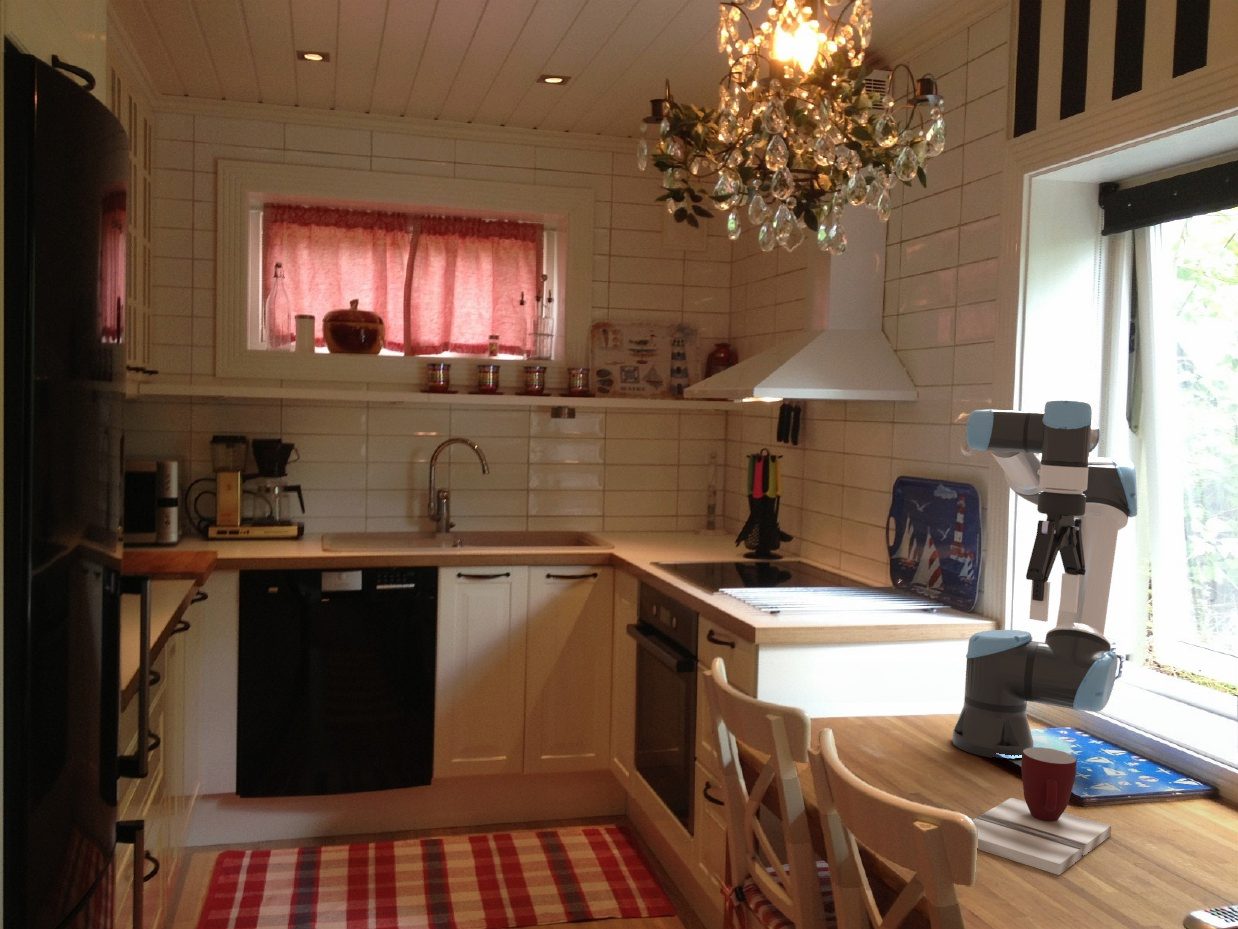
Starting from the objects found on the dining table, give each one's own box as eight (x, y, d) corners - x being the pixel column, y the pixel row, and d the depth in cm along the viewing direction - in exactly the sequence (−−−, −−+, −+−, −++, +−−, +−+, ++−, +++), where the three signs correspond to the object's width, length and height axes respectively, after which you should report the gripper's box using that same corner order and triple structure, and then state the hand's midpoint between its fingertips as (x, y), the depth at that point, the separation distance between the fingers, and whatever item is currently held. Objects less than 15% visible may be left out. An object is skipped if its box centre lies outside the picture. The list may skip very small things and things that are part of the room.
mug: (1082, 835, 165) (1088, 771, 164) (1027, 830, 166) (1033, 766, 166) (1064, 810, 176) (1068, 750, 175) (1012, 805, 177) (1017, 745, 176)
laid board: (977, 826, 171) (977, 816, 171) (1080, 858, 160) (1081, 847, 160) (952, 841, 164) (953, 830, 164) (1059, 875, 154) (1059, 863, 154)
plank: (1010, 807, 181) (1011, 797, 181) (1110, 835, 170) (1111, 825, 170) (980, 824, 172) (981, 814, 172) (1083, 856, 161) (1084, 845, 161)
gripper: (1066, 488, 194) (1058, 604, 195) (1010, 491, 176) (1002, 620, 177) (1110, 491, 189) (1101, 611, 190) (1057, 495, 171) (1048, 627, 172)
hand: (1053, 616), depth 184 cm, fingers open, 13 cm apart
